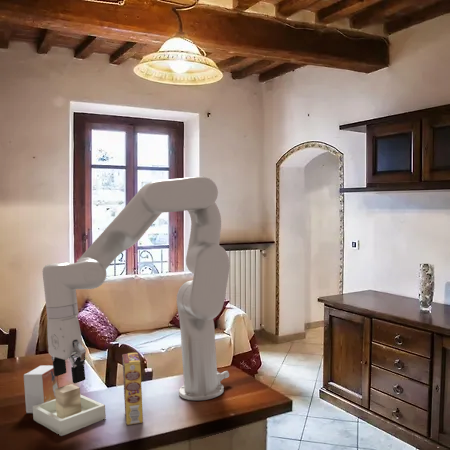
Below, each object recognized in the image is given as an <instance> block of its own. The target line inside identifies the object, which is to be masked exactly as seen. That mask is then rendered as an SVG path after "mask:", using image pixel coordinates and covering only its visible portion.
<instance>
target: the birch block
mask: <svg viewBox="0 0 450 450" xmlns="http://www.w3.org/2000/svg"><path fill="white" fill-rule="evenodd" d="M80 394H81V387H80V386H77V385H75V384H74V383H71V384H66V385H64V386H61V387H60V386H59V388H57V389H55V397H56V411H57V416H58V417H60V418H61V419H64V418H66V417H69V416H72V415H74V414H77V413H80V412H81V398H80Z"/></svg>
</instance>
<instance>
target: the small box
mask: <svg viewBox="0 0 450 450" xmlns="http://www.w3.org/2000/svg"><path fill="white" fill-rule="evenodd" d="M23 383H24V385H23V387H24V397H25V401H24V402H25V411H26V414H33V406H36V405H39V404H42V403H45V402H48V401H51V400H54V399H56V397H55V389H57V388H60V385H59V383H60V382H59V376H54V369H53V365H39V366H37V367H35V368H34V369H32V370H30V371H28V372H27V373H24V374H23Z"/></svg>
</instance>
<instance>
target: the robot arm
mask: <svg viewBox="0 0 450 450" xmlns="http://www.w3.org/2000/svg"><path fill="white" fill-rule="evenodd" d="M218 189H219V188H218V186H217V185H216V183H215V182H214V181H213V180H212V179H211V178H209V177H206V176H191V177H182V178H171V179H158V180H152V181H150V182H148V183H146V184H145V185H143V186H142V187H141V188H140V189H139V190H138V191H137V192H136V194H135V195H134V196H133V197H132V198H131V199H130V201H129V202H128V203H127V204H126V205H125V206H124V208H122V210H121V211H120V212H119V213H118V214H117V216H116V217H115V218H114V219H113V220H112V221H111V222H110V224H108V225H107V227H106V228H105V229H104V230H103V232H102V233H101V234H99V236H98V237H97V238H96V239H95V240H94V242H92V244H90V246H89V247H88V248H87V249H86V250H85V252H84V253H83V254H82V255H81V256H80V257H79V258H78V260H77V261H76V262H73V263H70V262H68V261H67V262H54V263H50V264H47V265H45V266H44V267H43V269H42V282H43V288H44V290H43V291H44V299H45V309H46V317H47V318H46V319H47V324H46V325H47V326H46V327H47V328H46V332H47V333H46V334H47V347H48V348H47V349H48V354H49V355H50V356H51V361H52V366H53V369H54V376H58V377H59V376H61V375H64V374H66V373H67V365H66V361H67V360H68V359H69V361H70V363H71V365H72V366H71V378H72V379H71V380H72V384H77V383H80V382H83V381H85V380H86V372H85V370H86V369H85V364H86V362H85V361H86V352H87V351H86V349H85V347H84V346H83V338H82V337H83V336H82V332H81V328H80V327H81V326H80V321H79V318H78V316H79V307H78V297H77V290H93V289H97V288H99V287H101V286H102V285H103V284H104V283H105V281H106V278H107V268H108V267H109V266H110V265H111V264H112V263H113V261H115V259H116V258H117V257H119V256H120V255H121V254H122V253H123V252H125V251H126V250H128V249H129V248H131V247H132V246H134V245H136V243H137V242H139V241H140V240H141V238H142V237H143V236H144V235H145V234H146V232H147V231H148V230H149V229H150V227H151V226H152V225H153V223H155V221H156V220H158V219H159V217H160V215H162V213H163V214H164V213H175V212H184V211H187V212H188V214H189V216H190V223H191V224H190V234H189V239H188V247H187V251H186V256H185V266H186V268H187V270H188V271H189V272H190V273H192V274H193V279H192V280H188V281H185V282H184V283H183V284H182V285H181V286H180V287H179V289H178V291H177V295H176V306H177V312H178V313H177V314H178V318H179V327H180V344H181V345H180V346H181V358H182V359H181V360H182V373H183V376H182V377H183V385H182V386H181V387H179V390H178V395H179V396H180V398H182V399H183V400H188V401H206V400H211V399H215V398H217V397H219V396H221V395H222V394H223V393H224V390H225V389H224V388H225V387H224V385H223V384H222V383H221V381H223V380H225V379H227V378H229V377H230V373H229V371H228V370H225V371H223V372H219V371H218V368H217V367H218V366H217V363H218V362H217V352H216V350H217V349H216V334H215V333H216V332H215V331H216V330H215V322H214V319H215V318H217V316H219V315H220V313H221V311H222V310H223V307H224V304H225V299H226V294H227V287H228V280H229V274H230V267H231V266H230V263H231V262H230V257H229V254H228V252H227V250H225V248H224V247H223V246H222V245H220V241H221V231H222V216H221V213H220V209H219V207H218V206H217V203H216V202H217V201H216V200H217V199H218V194H219V191H218Z"/></svg>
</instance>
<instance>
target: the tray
mask: <svg viewBox="0 0 450 450" xmlns="http://www.w3.org/2000/svg"><path fill="white" fill-rule="evenodd" d="M80 398H81V412H80V413H77V414H74V415H72V416H69V417H66V418H64V419H61V418H60V417H58V416H57V411H56V399H54V400H51V401H48V402H45V403H42V404H39V405H36V406H33V413H32V417H33V421H34V422H36V423H37V424H40V425H41V426H43V427H45V428H46V429H48V430H50V431H52V432H53V433H56V434H57V435H58V434H59V436H60V437H63V436H66V435H68V434H70V433H73V432H77V431H78V430H81V429H84V428H85V427H88V426H91V425H93V424H96V423H99V422H101V421H104V420H106V419H107V417H106V416H107V414H106V405H105V404H103V403H101V402H99V401H97V400H94V399H92V398H90V397H87V396H85V395H83V394H81V393H80ZM105 418H106V419H105ZM103 419H104V420H103Z"/></svg>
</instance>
